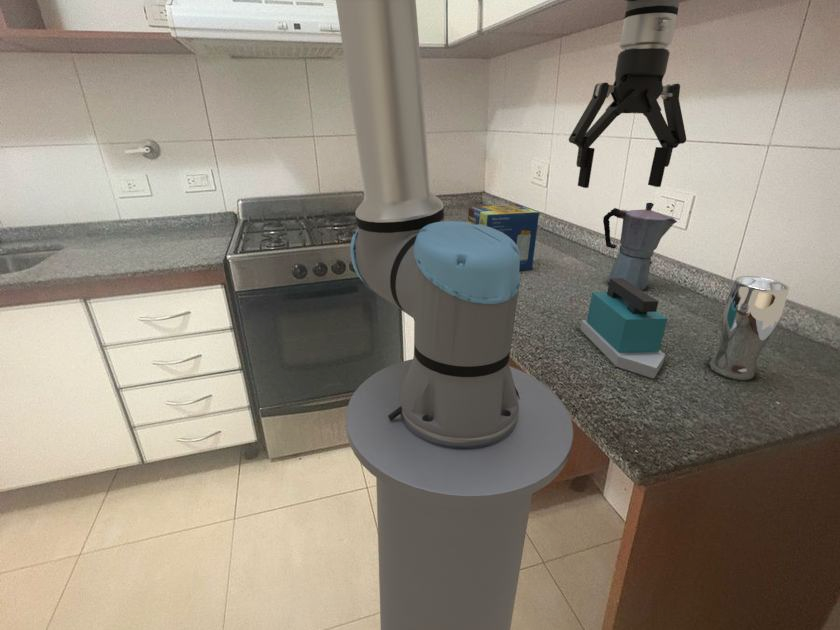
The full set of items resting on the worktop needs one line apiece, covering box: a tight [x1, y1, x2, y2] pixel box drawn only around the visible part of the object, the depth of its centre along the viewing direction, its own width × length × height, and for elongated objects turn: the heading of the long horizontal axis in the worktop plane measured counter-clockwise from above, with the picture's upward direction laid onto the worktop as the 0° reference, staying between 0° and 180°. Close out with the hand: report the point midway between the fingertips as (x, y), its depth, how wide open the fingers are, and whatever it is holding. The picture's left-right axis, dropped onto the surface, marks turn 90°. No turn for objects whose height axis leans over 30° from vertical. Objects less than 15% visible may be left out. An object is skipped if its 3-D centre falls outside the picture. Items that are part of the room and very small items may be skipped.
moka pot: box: [602, 202, 678, 291], centre depth 104 cm, size 10×15×20 cm, turn 74°
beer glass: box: [709, 275, 790, 381], centre depth 68 cm, size 7×7×15 cm
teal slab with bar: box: [579, 278, 669, 380], centre depth 74 cm, size 18×8×11 cm, turn 5°
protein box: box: [467, 204, 540, 272], centre depth 117 cm, size 10×15×16 cm
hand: (618, 186), depth 79 cm, fingers open, 13 cm apart
